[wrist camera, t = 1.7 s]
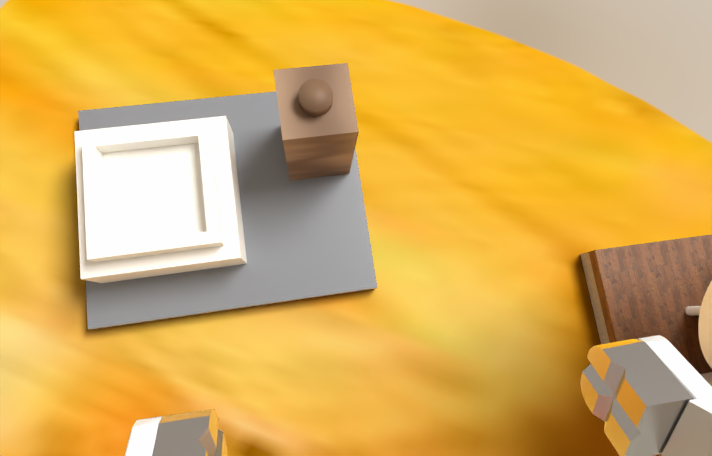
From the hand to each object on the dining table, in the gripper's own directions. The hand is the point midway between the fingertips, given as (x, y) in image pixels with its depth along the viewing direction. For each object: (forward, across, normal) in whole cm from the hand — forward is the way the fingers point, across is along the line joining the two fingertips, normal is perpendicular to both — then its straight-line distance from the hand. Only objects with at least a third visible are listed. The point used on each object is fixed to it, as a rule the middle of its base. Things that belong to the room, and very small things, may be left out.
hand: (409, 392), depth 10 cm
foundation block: (+25, +11, +9) cm, 29 cm away
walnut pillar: (+28, 0, +6) cm, 28 cm away
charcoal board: (+26, +7, +9) cm, 29 cm away
